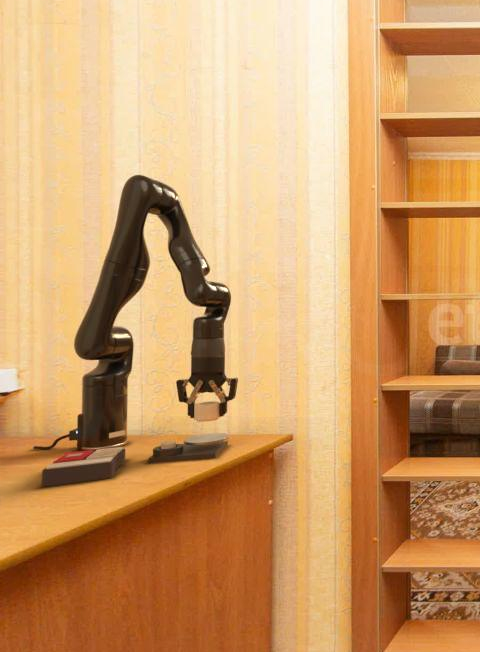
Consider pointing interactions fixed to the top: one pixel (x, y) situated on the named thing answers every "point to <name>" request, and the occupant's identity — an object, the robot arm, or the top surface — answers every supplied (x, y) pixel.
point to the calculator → (83, 466)
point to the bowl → (207, 411)
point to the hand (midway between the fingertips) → (207, 416)
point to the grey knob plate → (187, 452)
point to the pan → (206, 439)
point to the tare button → (168, 444)
